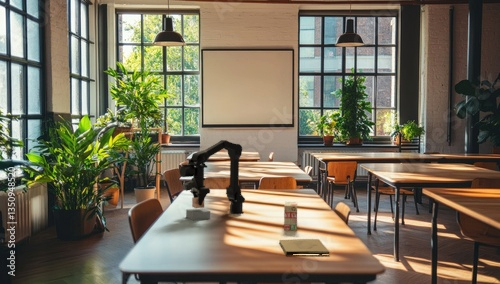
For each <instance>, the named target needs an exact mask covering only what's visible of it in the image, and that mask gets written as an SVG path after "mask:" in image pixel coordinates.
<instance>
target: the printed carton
mask: <svg viewBox="0 0 500 284" xmlns="http://www.w3.org/2000/svg"><path fill="white" fill-rule="evenodd" d="M283 211H284V212H283V218H284V219H283V221H284V222H283V223H284V224H283V231H293V230H298V202H297V201H285V202H284V207H283Z"/></svg>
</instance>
